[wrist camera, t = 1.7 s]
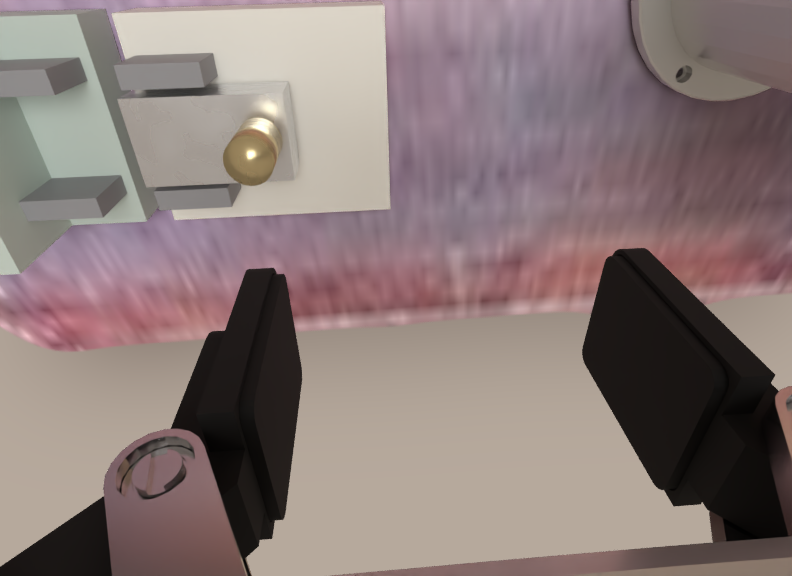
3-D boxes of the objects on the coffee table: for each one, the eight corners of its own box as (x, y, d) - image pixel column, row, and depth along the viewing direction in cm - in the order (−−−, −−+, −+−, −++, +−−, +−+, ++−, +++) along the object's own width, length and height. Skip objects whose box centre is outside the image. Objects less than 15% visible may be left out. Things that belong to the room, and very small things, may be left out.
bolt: (288, 81, 23) (272, 110, 19) (299, 162, 25) (288, 206, 21) (138, 86, 23) (84, 117, 18) (163, 168, 25) (120, 214, 20)
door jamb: (105, 9, 24) (8, 26, 17) (164, 199, 29) (109, 268, 23) (-2, 12, 23) (-141, 31, 17) (79, 203, 29) (-2, 275, 22)
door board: (381, 0, 24) (387, 9, 20) (387, 188, 30) (393, 229, 25) (136, 7, 24) (85, 18, 19) (189, 198, 29) (159, 241, 25)
